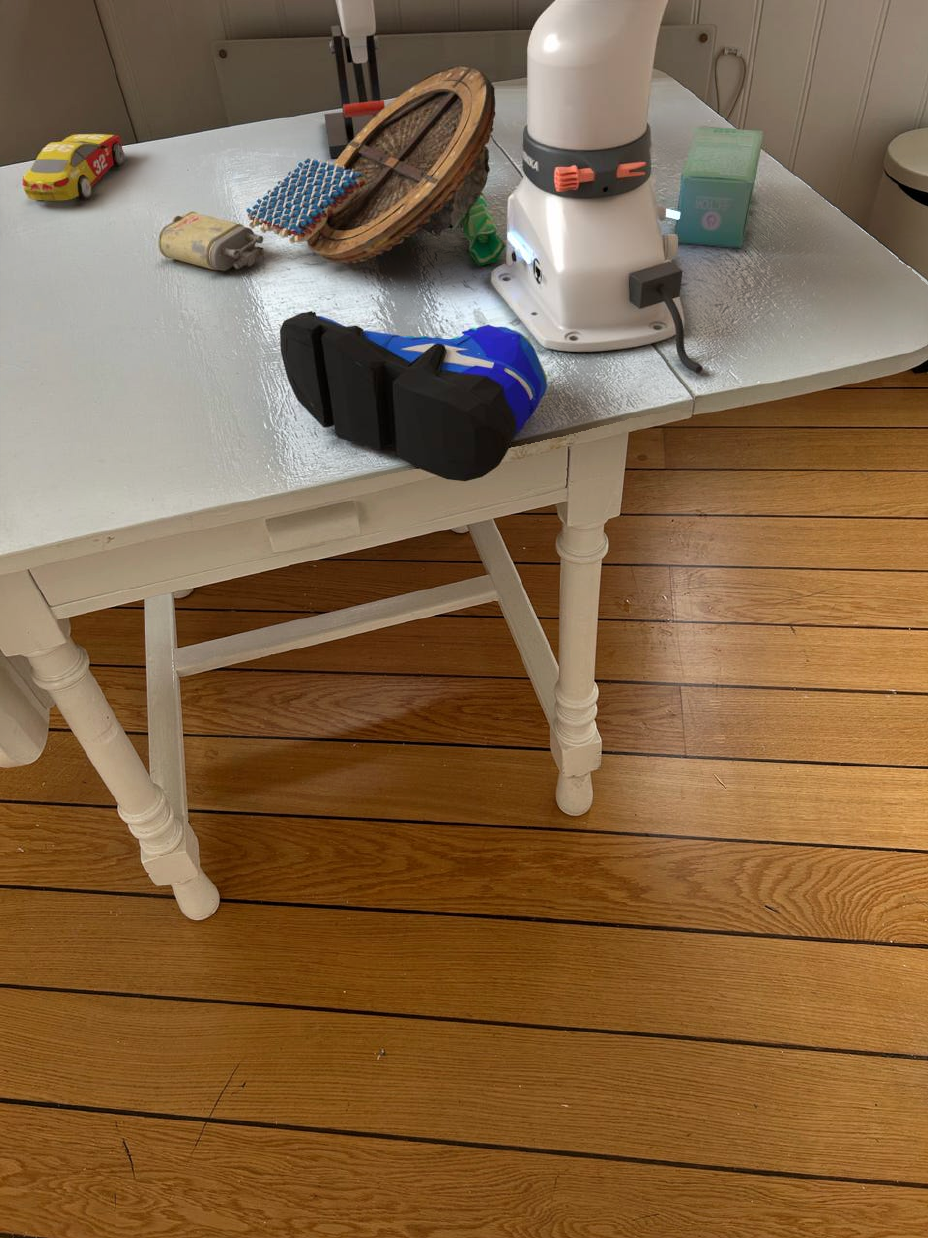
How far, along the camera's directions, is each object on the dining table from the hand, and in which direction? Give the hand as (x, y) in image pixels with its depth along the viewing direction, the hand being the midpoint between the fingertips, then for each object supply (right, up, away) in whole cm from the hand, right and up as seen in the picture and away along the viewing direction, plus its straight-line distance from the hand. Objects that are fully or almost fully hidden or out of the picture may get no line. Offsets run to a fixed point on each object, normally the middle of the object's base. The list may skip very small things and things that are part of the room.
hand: (359, 59), depth 111 cm
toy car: (-37, -10, +10) cm, 40 cm away
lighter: (-20, -23, -6) cm, 31 cm away
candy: (+13, -22, -10) cm, 27 cm away
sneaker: (+5, -49, -36) cm, 61 cm away
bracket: (-1, -1, +15) cm, 15 cm away
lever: (-1, +1, +7) cm, 7 cm away
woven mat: (-4, -22, -10) cm, 25 cm away
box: (+40, -22, -7) cm, 46 cm away
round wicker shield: (+14, -10, -13) cm, 22 cm away
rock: (+5, -22, -11) cm, 25 cm away
